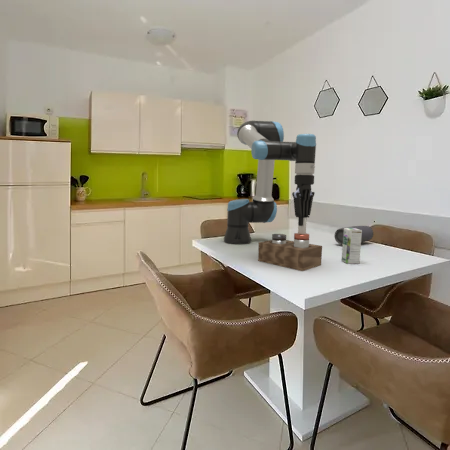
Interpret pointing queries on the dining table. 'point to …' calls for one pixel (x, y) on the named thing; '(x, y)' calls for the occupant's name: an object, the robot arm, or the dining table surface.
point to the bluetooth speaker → (366, 230)
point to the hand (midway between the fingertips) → (301, 233)
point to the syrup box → (351, 245)
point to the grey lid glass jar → (279, 238)
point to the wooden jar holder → (290, 255)
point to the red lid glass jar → (301, 240)
